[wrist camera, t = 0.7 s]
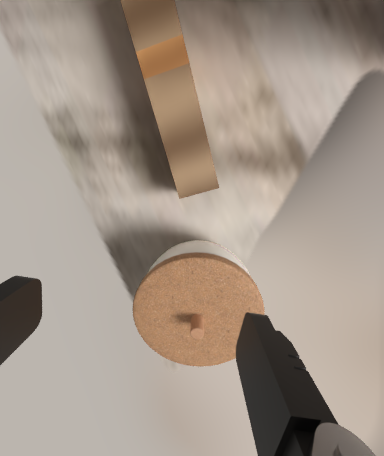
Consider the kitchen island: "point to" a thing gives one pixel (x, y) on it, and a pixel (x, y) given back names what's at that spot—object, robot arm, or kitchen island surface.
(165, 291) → the lidded bowl
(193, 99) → the bar
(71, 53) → the kitchen island surface
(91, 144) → the kitchen island surface
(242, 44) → the kitchen island surface
